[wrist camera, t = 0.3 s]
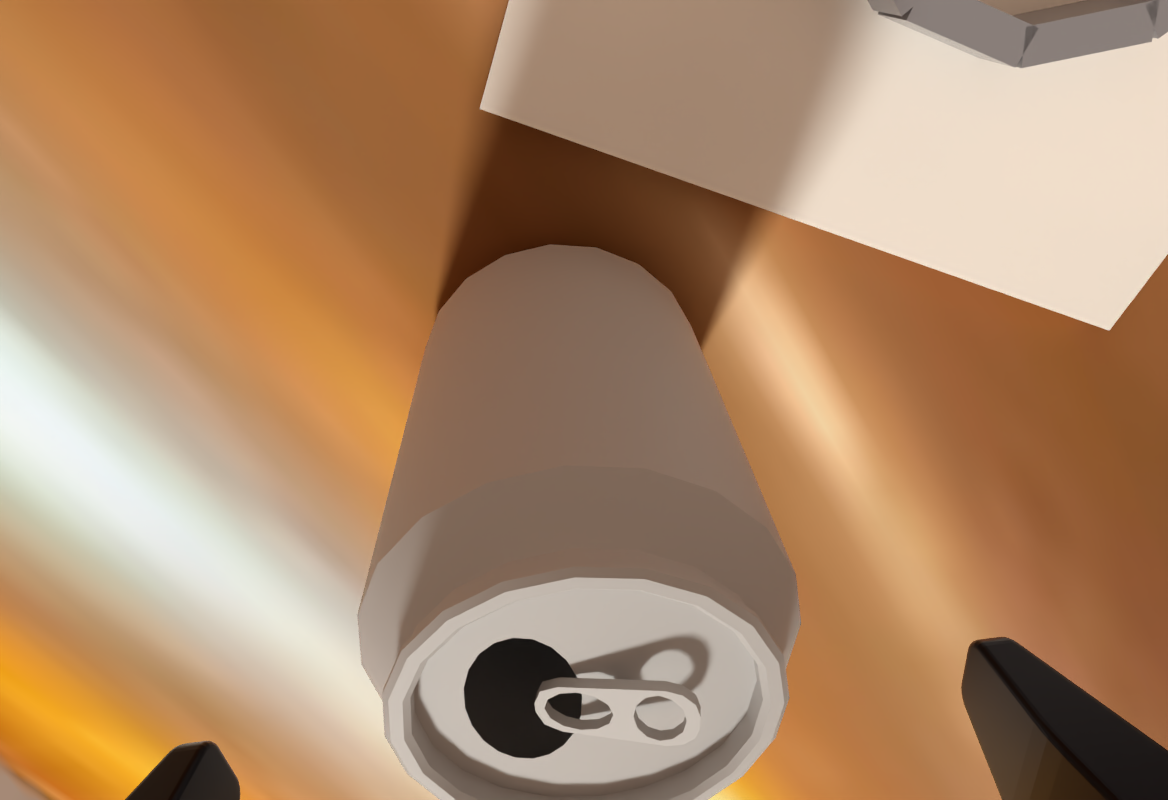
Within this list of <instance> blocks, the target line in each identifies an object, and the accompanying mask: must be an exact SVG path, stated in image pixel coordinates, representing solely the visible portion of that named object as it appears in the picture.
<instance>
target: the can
mask: <svg viewBox="0 0 1168 800" xmlns="http://www.w3.org/2000/svg"><path fill="white" fill-rule="evenodd" d="M800 625H801V618H800V609H799V600H798V591H797V581H796V574H795V571H794V569H793V567H792V564H791V562H790V560H789V557H788V555H787V552H786V550H785V548H784V545H783V543H782V541H781V538H780V536H779V533H778V531H777V529H776V526H775V524H774V522H773V519H772V517H771V514H770V512H769V510H768V507H767V505H766V503H765V500H764V498H763V495H762V493H761V491H760V488H759V486H758V484H757V481H756V479H755V476H754V474H753V472H752V469H751V467H750V465H749V462H748V460H747V457H746V455H745V453H744V450H743V448H742V446H741V443H740V441H739V438H738V436H737V434H736V431H735V429H734V427H733V424H732V422H731V419H730V417H729V415H728V412H727V410H726V408H725V405H724V403H723V400H722V398H721V396H720V393H719V391H718V389H717V386H716V384H715V381H714V379H713V377H712V374H711V372H710V370H709V367H708V365H707V362H706V360H705V358H704V355H703V353H702V351H701V348H700V346H699V343H698V341H697V339H696V336H695V334H694V332H693V329H692V327H691V325H690V323H689V321H688V320H687V318H686V316H685V314H684V313H683V311H682V309H681V308H680V306H679V304H678V302H677V301H676V299H675V297H674V295H673V294H672V292H671V291H670V290H669V289H668V288H667V287H665V286H664V285H663V284H662V283H661V282H659V281H658V280H657V279H656V278H655V277H653V276H652V275H651V274H650V273H649V272H648V271H646V270H645V269H644V268H643V267H642V266H640V265H639V264H637V263H635V262H632V261H630V260H627V259H625V258H622V257H620V256H617V255H615V254H612V253H609V252H607V251H604V250H602V249H599V248H597V247H582V246H567V245H553V244H549V245H545V246H541V247H537V248H533V249H528V250H524V251H520V252H516V253H512V254H508V255H504V256H503V257H501V258H499V259H498V260H496V261H494V262H493V263H491V264H489V265H488V266H486V267H484V268H483V269H481V270H479V271H478V272H476V273H475V274H473V275H471V276H470V277H468V278H466V279H465V281H464V282H463V283H462V284H461V285H460V286H459V288H458V289H457V290H456V291H455V292H454V294H453V295H452V296H451V297H450V298H449V300H448V301H447V302H446V303H445V304H444V306H443V307H442V308H441V309H440V310H439V312H438V315H437V318H436V320H435V323H434V326H433V329H432V331H431V334H430V337H429V340H428V342H427V345H426V348H425V352H424V356H423V360H422V363H421V367H420V371H419V375H418V379H417V383H416V387H415V391H414V395H413V399H412V403H411V407H410V411H409V415H408V419H407V422H406V426H405V430H404V434H403V438H402V442H401V446H400V450H399V454H398V458H397V462H396V466H395V470H394V474H393V478H392V481H391V485H390V489H389V493H388V497H387V501H386V505H385V509H384V513H383V517H382V521H381V525H380V529H379V533H378V537H377V540H376V544H375V548H374V552H373V556H372V560H371V564H370V568H369V572H368V576H367V580H366V584H365V588H364V592H363V596H362V599H361V603H360V607H359V611H358V626H359V638H360V650H361V663H362V666H363V668H364V669H365V671H366V673H367V675H368V677H369V678H370V680H371V682H372V684H373V685H374V687H375V689H376V691H377V692H378V694H379V696H380V698H381V699H382V701H383V714H384V730H385V737H386V739H387V741H388V742H389V744H390V746H391V748H392V749H393V751H394V753H395V754H396V756H397V758H398V760H399V761H400V763H401V765H402V766H403V768H404V770H405V771H406V773H407V774H408V775H409V776H411V777H412V778H413V779H414V780H416V781H417V782H418V783H419V784H421V785H422V786H423V787H424V788H426V789H427V790H428V791H430V792H431V793H432V794H433V795H435V796H436V797H437V798H438V799H440V800H708V799H710V798H711V797H712V796H714V795H715V794H717V793H718V792H720V791H721V790H723V789H724V788H726V787H727V786H729V785H730V784H732V783H733V782H735V781H736V780H738V779H739V778H741V777H742V776H743V775H744V774H745V773H746V772H747V771H748V770H749V768H750V767H751V766H752V765H753V764H754V762H755V761H756V760H757V759H758V758H759V756H760V755H761V754H762V753H763V752H764V751H765V749H766V748H767V747H768V746H769V745H770V743H771V742H772V741H773V740H774V739H775V738H776V735H777V732H778V729H779V726H780V723H781V720H782V717H783V714H784V712H785V709H786V706H787V703H788V700H789V691H788V684H787V676H786V667H787V664H788V661H789V658H790V655H791V652H792V649H793V646H794V643H795V640H796V637H797V634H798V631H799V628H800Z"/></svg>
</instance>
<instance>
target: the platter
mask: <svg viewBox="0 0 1168 800" xmlns="http://www.w3.org/2000/svg"><path fill="white" fill-rule="evenodd" d="M480 109H481V110H484V111H487V112H490V113H493V114H496V115H498V116H501V117H504V118H507V119H510V120H513V121H515V122H518V123H521V124H524V125H527V126H530V127H533V128H535V129H538V130H541V131H544V132H547V133H550V134H552V135H555V136H558V137H561V138H564V139H567V140H569V141H572V142H575V143H578V144H581V145H584V146H586V147H589V148H592V149H595V150H598V151H601V152H604V153H606V154H609V155H612V156H615V157H618V158H621V159H623V160H626V161H629V162H632V163H635V164H638V165H640V166H643V167H646V168H649V169H652V170H655V171H657V172H660V173H663V174H666V175H669V176H672V177H675V178H677V179H680V180H683V181H686V182H689V183H692V184H694V185H697V186H700V187H703V188H706V189H709V190H711V191H714V192H717V193H720V194H723V195H726V196H728V197H731V198H734V199H737V200H740V201H743V202H746V203H748V204H751V205H754V206H757V207H760V208H763V209H765V210H768V211H771V212H774V213H777V214H780V215H782V216H785V217H788V218H791V219H794V220H797V221H799V222H802V223H805V224H808V225H811V226H814V227H817V228H819V229H822V230H825V231H828V232H831V233H834V234H836V235H839V236H842V237H845V238H848V239H851V240H853V241H856V242H859V243H862V244H865V245H868V246H870V247H873V248H876V249H879V250H882V251H885V252H888V253H890V254H893V255H896V256H899V257H902V258H905V259H907V260H910V261H913V262H916V263H919V264H922V265H924V266H927V267H930V268H933V269H936V270H939V271H941V272H944V273H947V274H950V275H953V276H956V277H959V278H961V279H964V280H967V281H970V282H973V283H976V284H978V285H981V286H984V287H987V288H990V289H993V290H995V291H998V292H1001V293H1004V294H1007V295H1010V296H1012V297H1015V298H1018V299H1021V300H1024V301H1027V302H1030V303H1032V304H1035V305H1038V306H1041V307H1044V308H1047V309H1049V310H1052V311H1055V312H1058V313H1061V314H1064V315H1066V316H1069V317H1072V318H1075V319H1078V320H1081V321H1083V322H1086V323H1089V324H1092V325H1095V326H1098V327H1101V328H1103V329H1106V330H1110V329H1111V328H1112V326H1113V325H1114V324H1115V322H1116V321H1117V320H1118V318H1119V317H1120V316H1121V315H1122V313H1123V312H1124V311H1125V309H1126V308H1127V307H1128V305H1129V304H1130V303H1131V301H1132V300H1133V299H1134V298H1135V296H1136V295H1137V294H1138V292H1139V291H1140V290H1141V288H1142V287H1143V286H1144V284H1145V283H1146V282H1147V280H1148V279H1149V278H1150V277H1151V275H1152V274H1153V273H1154V271H1155V270H1156V269H1157V267H1158V266H1159V265H1160V263H1161V262H1162V261H1163V259H1164V258H1165V257H1166V256H1167V254H1168V0H509V2H508V6H507V10H506V13H505V17H504V21H503V24H502V28H501V32H500V35H499V39H498V43H497V46H496V50H495V54H494V58H493V61H492V65H491V69H490V72H489V76H488V80H487V83H486V87H485V91H484V94H483V98H482V102H481V105H480Z"/></svg>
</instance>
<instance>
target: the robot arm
mask: <svg viewBox="0 0 1168 800" xmlns="http://www.w3.org/2000/svg"><path fill="white" fill-rule="evenodd" d="M961 688H962V697H963V701H964V705H965V708H966V710H967V713H968V715H969V718H970V720H971V723H972V725H973V728H974V730H975V733H976V735H977V738H978V740H979V743H980V745H981V748H982V750H983V753H984V755H985V758H986V760H987V763H988V765H989V768H990V770H991V773H992V775H993V778H994V780H995V783H996V786H997V788H998V791H999V793H1000V796H1001V798H1002V800H1168V750H1166V749H1165V748H1163V747H1162V746H1161V745H1159V744H1158V743H1156V742H1155V741H1154V740H1152V739H1151V738H1149V737H1148V736H1147V735H1145V734H1144V733H1142V732H1141V731H1140V730H1138V729H1137V728H1136V727H1134V726H1133V725H1131V724H1130V723H1129V722H1127V721H1126V720H1124V719H1123V718H1122V717H1120V716H1119V715H1117V714H1116V713H1115V712H1113V711H1112V710H1110V709H1109V708H1108V707H1106V706H1105V705H1103V704H1102V703H1101V702H1099V701H1098V700H1096V699H1095V698H1094V697H1092V696H1091V695H1089V694H1088V693H1087V692H1085V691H1084V690H1083V689H1081V688H1080V687H1078V686H1077V685H1076V684H1074V683H1073V682H1071V681H1070V680H1069V679H1067V678H1066V677H1064V676H1063V675H1062V674H1060V673H1059V672H1057V671H1056V670H1055V669H1053V668H1052V667H1050V666H1049V665H1048V664H1046V663H1045V662H1043V661H1042V660H1041V659H1039V658H1038V657H1036V656H1035V655H1034V654H1032V653H1031V652H1029V651H1028V650H1027V649H1025V648H1024V647H1023V646H1021V645H1020V644H1018V643H1017V642H1015V641H1014V640H1012V639H1009V638H1006V637H996V638H989V639H981V640H975V641H973V642H972V643H971V644H970V646H969V649H968V653H967V659H966V664H965V669H964V674H963V680H962V687H961ZM125 800H240V786H239V782H238V779H237V777H236V775H235V774H234V772H233V770H232V769H231V767H230V765H229V764H228V762H227V761H226V759H225V757H224V756H223V754H222V752H221V751H220V749H219V747H218V746H217V745H216V744H215V743H213V742H211V741H202V742H194V743H187V744H182V745H179V746H177V747H175V748H174V749H173V750H171V751H170V752H169V753H168V754H167V755H166V756H165V757H164V758H163V759H162V761H161V762H160V763H159V764H158V765H157V766H156V767H155V768H154V769H153V770H152V771H151V772H150V773H149V774H148V776H147V777H146V778H145V779H144V780H143V781H142V782H141V783H140V784H139V785H138V786H137V787H136V788H135V789H134V790H133V792H132V793H131V794H130V795H129V796H128V797H127V798H126V799H125Z"/></svg>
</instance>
